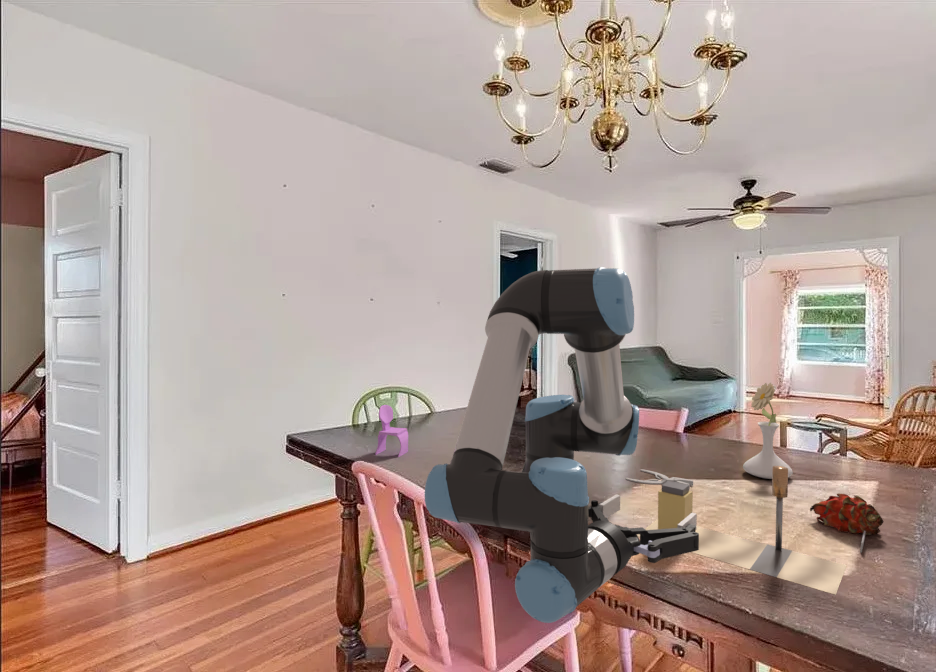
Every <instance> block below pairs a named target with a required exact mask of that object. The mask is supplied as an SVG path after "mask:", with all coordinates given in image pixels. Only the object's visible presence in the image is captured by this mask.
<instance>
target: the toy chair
mask: <svg viewBox="0 0 936 672" xmlns="http://www.w3.org/2000/svg"><path fill="white" fill-rule="evenodd" d="M378 418H379V420H380V423H381V427H382V430H380V431H378V435H377V446H376V451H375V453H374V455H375V456H377V455H378V454H380V453H382V452H384V451H386V448H387V447H386V445H387V443H386V442H387V438H388V436H392V437H393V436H394V437H396V438H397V439H398V441H399V443H400V448H399V452H398V455H397V458H400V457H402V456H404V455H405V454H407V453H408V452H409V432H408V428H406V427H393V426H391V425H390V423H391V421H392V420H394V409H393V408H392V406H391V405H388V404H384V405H381V406H380V407H379V410H378Z"/></svg>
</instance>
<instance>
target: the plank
mask: <svg viewBox="0 0 936 672" xmlns="http://www.w3.org/2000/svg"><path fill="white" fill-rule="evenodd" d="M644 529H645V530H656V529H658V518H656V520H654V521H653V522H651V524H649V525H648V526H647V527H644ZM696 532H697V533H699V550H697V551H693V552H691V553H692V554H696V555H699V556H701V557H706V558H709V559H712V560H716V561H719V562H723V563H726V564H730V565H732V566H736V567H738V568H739V567H740V568H743V569H746V570H750V571H753V572H756V573H761V574H764V575H766V576H771V577H773V578H777V579H780V580H785V581H788V582H790V583H794V584H798V585H800V586H801V585H802V586H804V587H808V588H810V589H813V590H818V591H821V592H825V593H828V594H831V595H835V596H836V595H837V592H838V590H839V588H840V587H839V586H840V585H841V581H842V579H843V576H844V574H845V571H846V568H847V564H845V563H842V562H837V561H833V560H829V559H826V558H822V557H818V556H815V555H810V554H806V553H803V552H799V551H795V550H791V549H787V548H783V547H782V550H781V551H778V550H776V549H775V545H772V544H769V543H764V542H761V541H757V540H753V539H749V538H744V537H741V536H737V535H734V534H730V533H725V532H722V531H718V530H714V529H710V528H706V527H703V526H700V525H697V526H696ZM637 536H638V538H640V534H637Z"/></svg>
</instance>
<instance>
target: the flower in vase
mask: <svg viewBox="0 0 936 672" xmlns="http://www.w3.org/2000/svg"><path fill="white" fill-rule="evenodd" d="M775 392H776V389H775V386H774V385H773V383H772V382H769V383H767V382H764V384H762V385H760V387H757V388H756V392H755V393H754V395H753V396H752V398H751V401H752V402H751V408H753V410H754V411H759V410H761V414H762V415H763V416H764V417H765V418H767V420H769V421H758V422H757V425H758V426H759V428H760V431H761V434H762V449H761V451H760V452H759V453H757V454H756V455H754V456H753V457H751V458H749V459H748V460H746V461H745V462H744V463H743V466H742V468H743V470H744V471H745V472H746V473H747V474H750V475H752V476H755V477H758V478H762V479H769V480H772V472H773V466H783V467H786V468H788V478H790V477H791V476H792V475H793V474H794V472H793V469H792V467H791V466H790V465H789V464H788V463H786V461H784V460H783V459H782V458H780V457H779V456H778V455H777V454H776V453H775V451H774V435H775V432H776V430H777V429H778V428H779V426H780V424H779V423H778V422H777V418H776V417H777V413H774V409H773V406H772V404H771V401H772V400H773V397H774V395H775ZM767 405H768V406H769V407H770V410H771V413H769V412H768V411H767V410H766V409H765V408H766V407H767Z"/></svg>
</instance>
